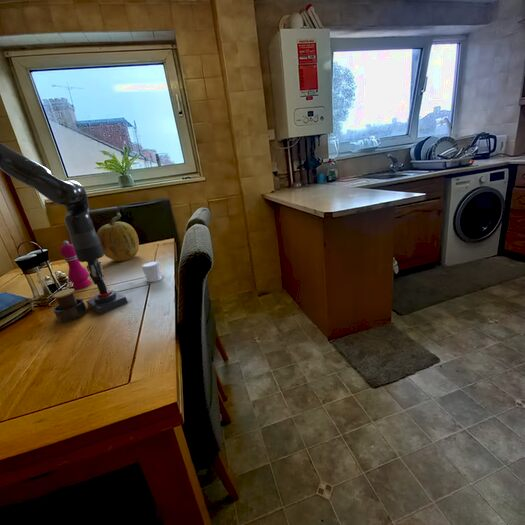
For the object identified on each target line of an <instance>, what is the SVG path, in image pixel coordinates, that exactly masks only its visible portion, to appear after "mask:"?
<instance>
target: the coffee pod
mask: <svg viewBox="0 0 525 525" xmlns="http://www.w3.org/2000/svg"><path fill="white" fill-rule="evenodd" d="M52 297H53V298H54V299H56V301H57V305H59V306H60V309H61V310H66V309H70V308H72V307H75V306H76V305H78V303H77V301H76V299H77V298H76V296H75V289H74V288H65V289H62V290H60V291H57V292H55V293H54V294H53V295H52Z"/></svg>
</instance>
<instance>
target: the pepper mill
mask: <svg viewBox="0 0 525 525" xmlns="http://www.w3.org/2000/svg"><path fill="white" fill-rule="evenodd" d="M59 253H60V255H61V256H62V257H63V259H64V261H65V262H66V263H67V266H68V275H67V276H68V280H69V282H70V283H72V287H73V289H74V290H79V289H83V288H87V287H88V286H90V285H91V283H92V282H91V281H90V279H89V277H90V276H89V275H90V274H89V271H88V270H87V268H86V269H85V268H84V266H83V265H82V264H81V262H80V261H78V258H77V256H76V253H75V250H74V248H73V245H72V243H69V241H68V240H63V245H62V246H61V247H60V248H59Z"/></svg>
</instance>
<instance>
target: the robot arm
mask: <svg viewBox="0 0 525 525" xmlns="http://www.w3.org/2000/svg"><path fill="white" fill-rule="evenodd" d="M0 170H1V171H2V172H3V173H5V174H6V175H8V176H9V177H11V178H12V179H15V180H16V181H18V182H20V183H22V184H24V185H25V186H27V187H30V188H32V189H34V190H35V191H37V193H40V194H41V195H42V196H43V197H45V198H46V199H48V200H49V201H51V202H53V203H54V204H57V205H60V206H64V207H65V209H66V214H65V216H64V223H65V226H66V228H67V231H68V234H69V238H70V243H71V244H72V245H73V248H74V250H75V253H76V256H77V258H78V261H79V262H80V263H86V264H87V266H86V270H87V272H88V274H89V277H90V279H91V280H92V282H93V284H94V285H96V286H97V289H98V291H99V292H98V293H100V294H103V293H106V292H107V290H108V289H107V285H106V283H105V274H104V268H103V267H102V266H103V264H102V261H101V260H100V259H101V258H103V257H104V256H105V255H104V253H103V250H102V247H101V244H100V241H99V238H98V235H97V232H96V229H95V226H94V223H93V220H92V218H91V215H90V205H89V204H90V203H89V198H88V193H87V191H86V190H85V188H84V186H83V185H82V184H80V183H79V182H78V181H75V180H62V179H60V178H58V177H56V176H55V175H53V173H52V171H51V170H49V169H48V168H47V167H45V166H43V165H42V164H40V163H38V162H36V161H34V160H32V159H30V158H29V157H27V156H25V155H23V154H21V153H19V152H17V151H16V150H14V149H12V148H11V147H9V146H7V145H5V144H4V143H2V141H0ZM99 260H100V261H99Z"/></svg>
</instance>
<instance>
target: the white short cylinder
mask: <svg viewBox="0 0 525 525" xmlns="http://www.w3.org/2000/svg"><path fill="white" fill-rule="evenodd" d="M141 268H142V272H143V274H144V277H145V279H146V281H147V282H148V283H155V282H158V281H161V280H162V272H161V265H160V261H158V260H151V261H148V262H145V263H142V265H141Z"/></svg>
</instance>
